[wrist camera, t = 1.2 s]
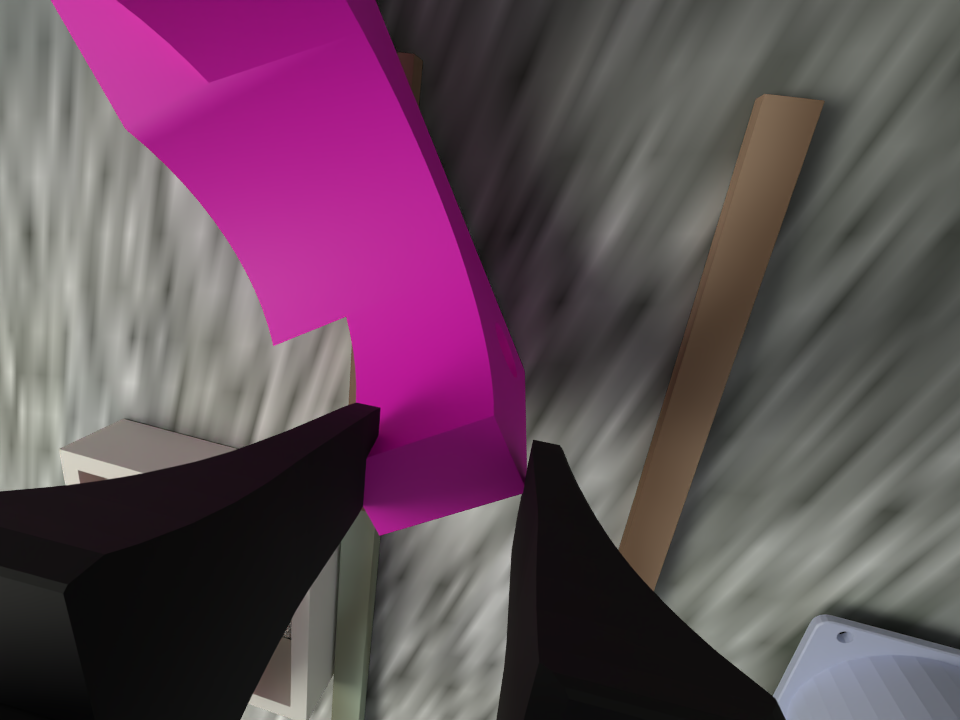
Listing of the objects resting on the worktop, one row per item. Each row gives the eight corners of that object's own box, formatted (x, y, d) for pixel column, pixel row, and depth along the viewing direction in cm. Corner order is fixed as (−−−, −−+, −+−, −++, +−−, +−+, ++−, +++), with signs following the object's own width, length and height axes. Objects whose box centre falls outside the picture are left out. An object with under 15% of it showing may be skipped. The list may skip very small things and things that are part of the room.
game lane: (812, 105, 14) (824, 100, 13) (565, 827, 25) (564, 846, 25) (378, 55, 16) (368, 48, 15) (336, 745, 27) (329, 760, 27)
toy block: (159, 8, 15) (-168, -150, 8) (336, -97, 14) (137, -401, 7) (375, 423, 19) (291, 561, 12) (525, 371, 18) (527, 491, 11)
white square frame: (348, 478, 21) (311, 521, 18) (337, 666, 25) (306, 724, 22) (123, 418, 23) (59, 449, 20) (146, 602, 27) (95, 649, 24)
